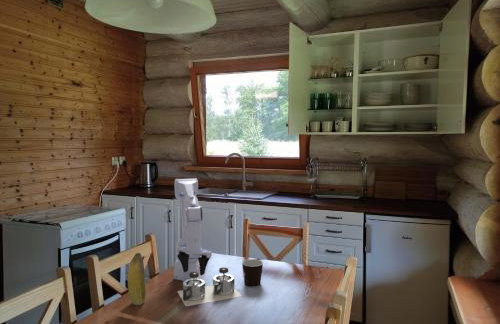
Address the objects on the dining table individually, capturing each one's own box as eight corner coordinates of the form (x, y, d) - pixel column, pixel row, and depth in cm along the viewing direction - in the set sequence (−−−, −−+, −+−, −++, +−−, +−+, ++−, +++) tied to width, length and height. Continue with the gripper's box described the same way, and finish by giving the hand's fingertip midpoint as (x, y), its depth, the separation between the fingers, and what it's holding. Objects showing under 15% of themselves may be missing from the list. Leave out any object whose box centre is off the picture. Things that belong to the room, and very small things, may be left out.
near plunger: (185, 286, 144) (185, 274, 144) (192, 281, 148) (192, 270, 148) (195, 288, 142) (195, 276, 142) (202, 283, 146) (202, 272, 146)
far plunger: (215, 281, 149) (215, 270, 149) (221, 276, 153) (221, 266, 153) (226, 283, 147) (226, 272, 147) (231, 279, 151) (231, 268, 151)
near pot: (174, 301, 142) (174, 287, 141) (191, 290, 151) (190, 276, 151) (193, 305, 138) (193, 291, 138) (209, 294, 148) (209, 280, 147)
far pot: (205, 295, 146) (205, 282, 146) (219, 285, 156) (219, 272, 156) (225, 299, 143) (225, 285, 142) (237, 289, 153) (237, 275, 152)
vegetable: (134, 311, 135) (132, 256, 134) (124, 306, 140) (123, 253, 138) (148, 305, 140) (147, 252, 138) (138, 300, 144) (137, 249, 142)
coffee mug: (260, 291, 153) (261, 267, 152) (240, 289, 155) (240, 265, 154) (265, 280, 164) (265, 257, 163) (246, 278, 166) (246, 256, 165)
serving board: (185, 308, 137) (185, 306, 137) (177, 293, 150) (177, 291, 150) (241, 298, 146) (241, 296, 146) (229, 284, 159) (229, 282, 159)
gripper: (171, 238, 143) (172, 273, 144) (204, 243, 137) (204, 279, 138) (182, 233, 150) (182, 267, 151) (214, 238, 144) (214, 273, 145)
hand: (194, 272), depth 145 cm, fingers open, 7 cm apart
